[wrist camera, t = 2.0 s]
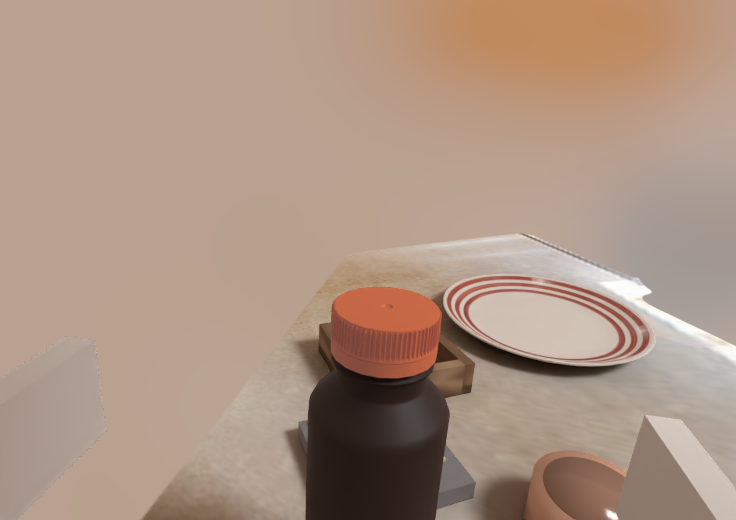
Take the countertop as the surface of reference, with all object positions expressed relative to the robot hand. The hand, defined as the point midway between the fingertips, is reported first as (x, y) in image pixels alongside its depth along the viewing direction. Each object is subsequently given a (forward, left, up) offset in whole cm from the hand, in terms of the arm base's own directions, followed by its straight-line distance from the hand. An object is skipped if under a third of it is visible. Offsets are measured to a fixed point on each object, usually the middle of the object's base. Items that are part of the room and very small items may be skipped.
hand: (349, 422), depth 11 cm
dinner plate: (-43, -36, -22) cm, 60 cm away
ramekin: (-22, -8, -21) cm, 32 cm away
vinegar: (-5, -8, -21) cm, 24 cm away
